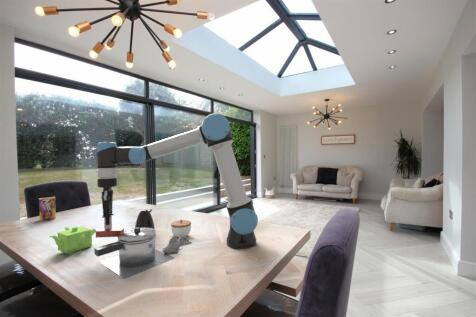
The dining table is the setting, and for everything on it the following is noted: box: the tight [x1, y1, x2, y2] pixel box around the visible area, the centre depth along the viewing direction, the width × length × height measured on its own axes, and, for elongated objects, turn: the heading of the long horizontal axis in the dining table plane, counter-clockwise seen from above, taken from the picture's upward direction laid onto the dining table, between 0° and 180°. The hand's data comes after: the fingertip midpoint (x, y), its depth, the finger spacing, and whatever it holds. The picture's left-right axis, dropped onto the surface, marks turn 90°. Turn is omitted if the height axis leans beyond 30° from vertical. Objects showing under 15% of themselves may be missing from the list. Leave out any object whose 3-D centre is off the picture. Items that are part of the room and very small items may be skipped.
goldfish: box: [162, 236, 193, 255], centre depth 117 cm, size 20×10×9 cm
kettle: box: [48, 226, 97, 256], centre depth 114 cm, size 15×14×11 cm
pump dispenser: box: [134, 208, 156, 230], centre depth 132 cm, size 10×10×15 cm
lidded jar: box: [170, 219, 192, 238], centre depth 133 cm, size 11×11×9 cm
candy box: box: [38, 196, 57, 222], centre depth 169 cm, size 9×4×15 cm, turn 127°
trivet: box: [99, 248, 175, 280], centre depth 102 cm, size 22×22×1 cm
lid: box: [95, 227, 157, 242], centre depth 101 cm, size 23×15×3 cm, turn 96°
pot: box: [93, 235, 156, 268], centre depth 98 cm, size 23×15×10 cm, turn 141°
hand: (108, 231), depth 106 cm, fingers closed
